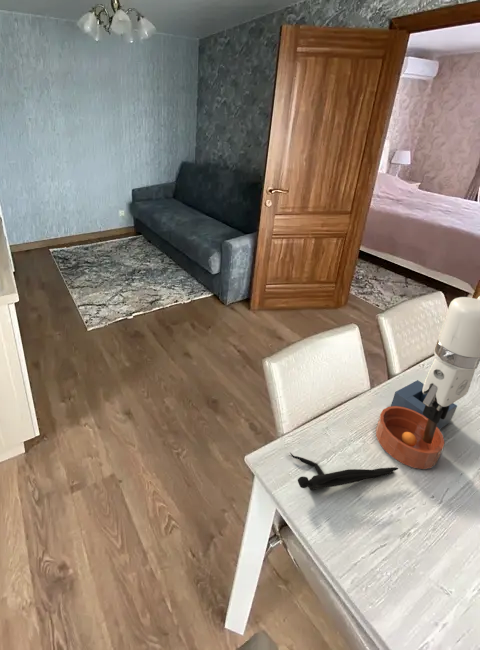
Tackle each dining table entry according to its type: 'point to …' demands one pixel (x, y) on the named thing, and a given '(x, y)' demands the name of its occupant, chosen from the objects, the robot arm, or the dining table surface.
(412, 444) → the ball
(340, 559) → the dining table surface
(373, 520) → the dining table surface
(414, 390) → the holder
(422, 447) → the bowl
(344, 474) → the dark humanoid figurine
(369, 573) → the dining table surface
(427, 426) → the stick
